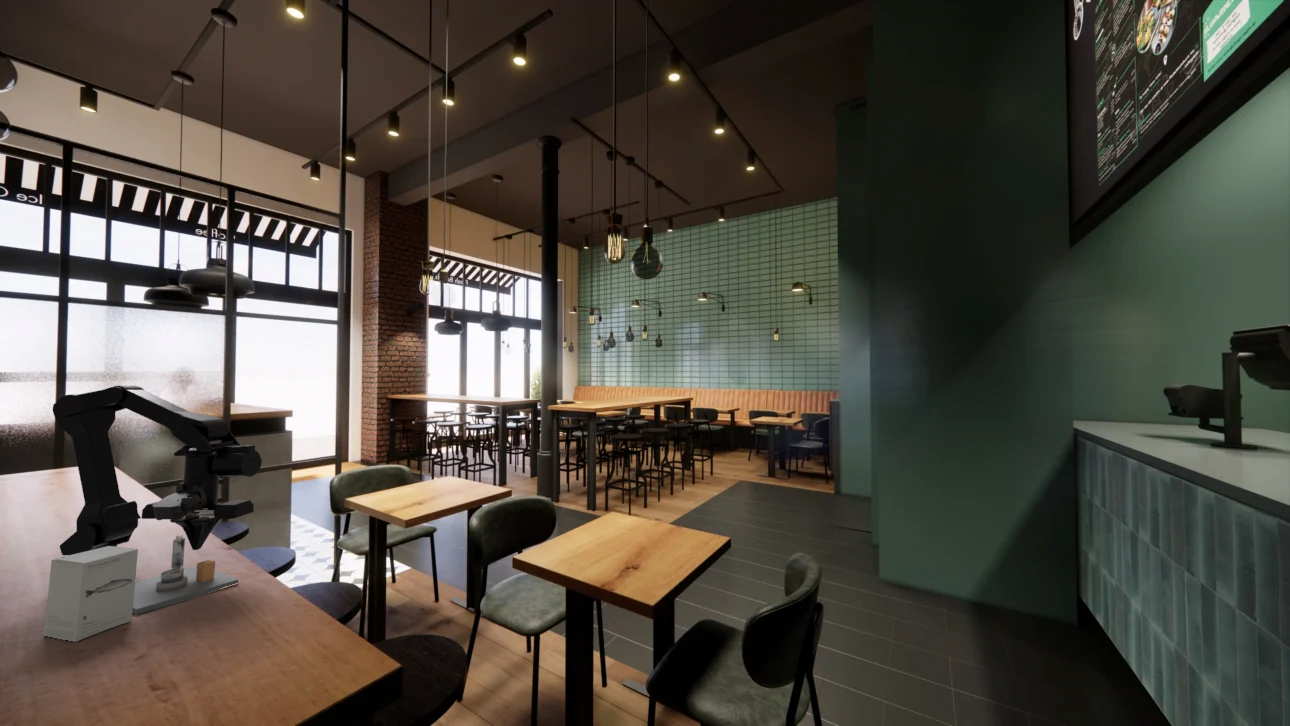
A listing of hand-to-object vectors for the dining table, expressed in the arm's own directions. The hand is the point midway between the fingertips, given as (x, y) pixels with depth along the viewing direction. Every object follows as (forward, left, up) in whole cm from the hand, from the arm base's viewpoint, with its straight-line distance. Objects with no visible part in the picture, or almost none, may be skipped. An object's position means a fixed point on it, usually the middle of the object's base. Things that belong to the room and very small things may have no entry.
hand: (196, 549), depth 100 cm
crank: (+2, -4, -4) cm, 6 cm away
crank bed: (+4, -5, -6) cm, 8 cm away
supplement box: (+12, -18, -6) cm, 22 cm away
